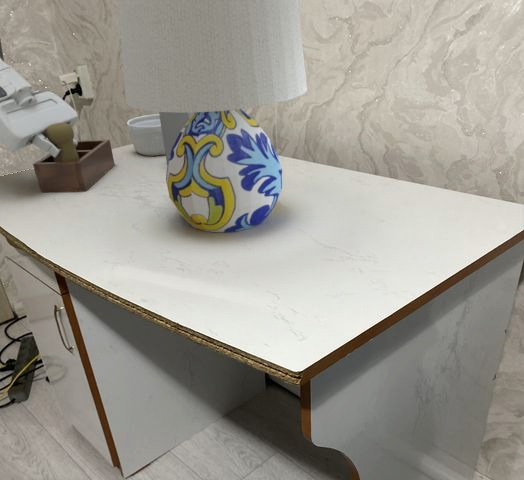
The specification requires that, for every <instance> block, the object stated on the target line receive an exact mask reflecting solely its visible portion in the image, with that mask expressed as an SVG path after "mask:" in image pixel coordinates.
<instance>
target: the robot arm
mask: <svg viewBox="0 0 524 480" xmlns="http://www.w3.org/2000/svg"><path fill="white" fill-rule="evenodd" d="M3 52H4V51H3V46H2V40H1V39H0V144H2V146H4V147H5V148H6V149H8V150H11V151H13V152H16V151H18V150H21V149H23V148H25V147H29V146H31V145H34V146H35V147H36V148H37V149H40V150H43V151H44V152H48V154H51V155H52V156H53V157H57V156H59V155H60V154H61V152H62V149H61V148H60V147H59V146H58V145H57V144H52V143H51V142H50V141H49V140H48V138H47V135H46V130H47V127H48V126H50V125H52V124H56V123H66V124H69V125H70V126H71V127H72V128H73V127H74V126H75V124H76V122H77V121H78V119H79V115H78V112H77V111H76V110H75V109H74V108H73V107H72V106H71V105H70V104H69V103H68V102H66V101H65V100H64V99H63V98H61V96H59V95H58V94H56V93H54V92H52V91H47V90H44V89H43V88H38V89H36V90H35V88H34V87H33V85H31V84H30V82H28V81H27V80H26V79H25V78H24V77H23V76H22V74H20V73H19V72H18V71H17V70H16V69H15V68H14V67H13V66H11V65H9V64H8V63H6V62H5V57H4V53H3ZM77 141H78V140H76V138H75V137H74V138H73V143H74V145H75V148H76V146H77V145H78V142H77Z"/></svg>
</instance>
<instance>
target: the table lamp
mask: <svg viewBox="0 0 524 480" xmlns="http://www.w3.org/2000/svg"><path fill="white" fill-rule="evenodd" d="M117 8H118V18H119V19H118V20H119V34H120V35H119V36H120V46H121V47H120V48H121V58H122V71H123V72H122V73H123V85H124V96H125V97H124V99H125V104H126V105H127V106H128V107H131V108H133V109H136V110H142V111H146V112H157V113H159V112H177V113H185V112H195V114H194V115H193V116H192V117H191V119H190V120H189V121H188V122H187V124H186V125H185V126H184V127H183V128H182V130H181V131H180V133H179V135H178V137H177V139H176V141H175V143H174V145H173V147H172V150H171V154H170V157H169V161H168V164H167V163H166V174H165V176H166V177H165V183H166V187H167V192H168V197H169V199H170V201H171V202H172V204H173V206H174V207H175V209H176V210H177V212H178V213H179V214H180V215H181V216H182V218H184V220H185V221H186V222H187V223H188V224H189V225H190V226H191V227H193V228H194V229H197V230H200V231H203V232H209V231H210V233H231V232H232V231H233V232H240V231H244V229H245V230H248V229H250V228H251V229H252V228H254V227H257V226H259V225H261V224H262V223H264V222H265V221H266V220H268V217H269V216H270V214H271V212H272V211H273V209H274V208H275V206H276V204H277V203H278V199H279V197H280V195H281V191H282V189H283V169H282V165H281V161H280V158H279V155H278V153H277V151H276V149H275V147H274V145H273V143H272V141H271V139H270V138H269V136H268V135H267V134H266V132H265V131H264V130H263V128H262V126H260V124H259V123H258V122H257V121H256V120H254V119H253V118H252V117H251V116H250V115H249V114H247V113H246V112H245V111H244V109H250V108H252V109H253V108H258V107H263V106H264V107H265V106H269V105H273V104H279V103H282V102H286V101H290V100H293V99H295V98H299V97H300V96H302V95H304V94H305V93H306V92H307V90H308V85H307V83H308V82H307V74H306V65H305V56H304V48H303V37H302V29H301V27H302V26H301V17H300V10H299V9H300V8H299V0H117ZM233 232H232V233H233Z"/></svg>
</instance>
